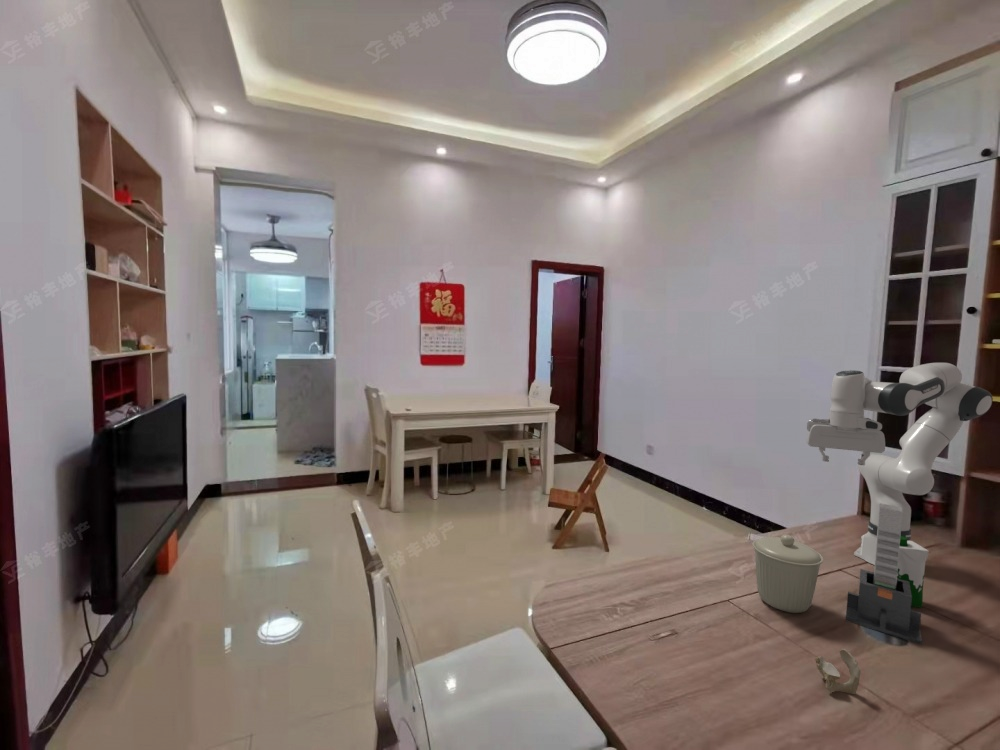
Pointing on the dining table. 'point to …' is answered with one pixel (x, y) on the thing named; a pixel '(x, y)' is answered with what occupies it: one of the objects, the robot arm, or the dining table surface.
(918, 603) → the milk carton
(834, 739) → the dining table surface
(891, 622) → the stand
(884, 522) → the column
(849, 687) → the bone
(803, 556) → the canister
